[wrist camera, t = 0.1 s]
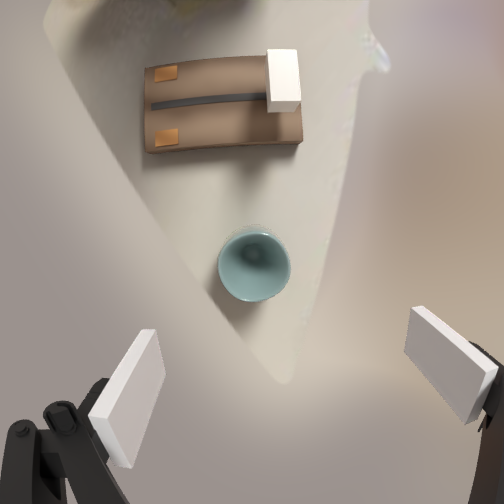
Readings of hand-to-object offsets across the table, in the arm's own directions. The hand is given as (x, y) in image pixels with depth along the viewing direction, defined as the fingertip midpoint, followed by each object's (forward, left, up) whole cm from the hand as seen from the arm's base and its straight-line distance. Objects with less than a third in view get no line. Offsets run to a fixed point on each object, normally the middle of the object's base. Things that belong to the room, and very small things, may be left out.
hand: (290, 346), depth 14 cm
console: (-19, -4, -28) cm, 34 cm away
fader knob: (-19, +3, -24) cm, 31 cm away
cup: (+1, -1, -28) cm, 28 cm away
